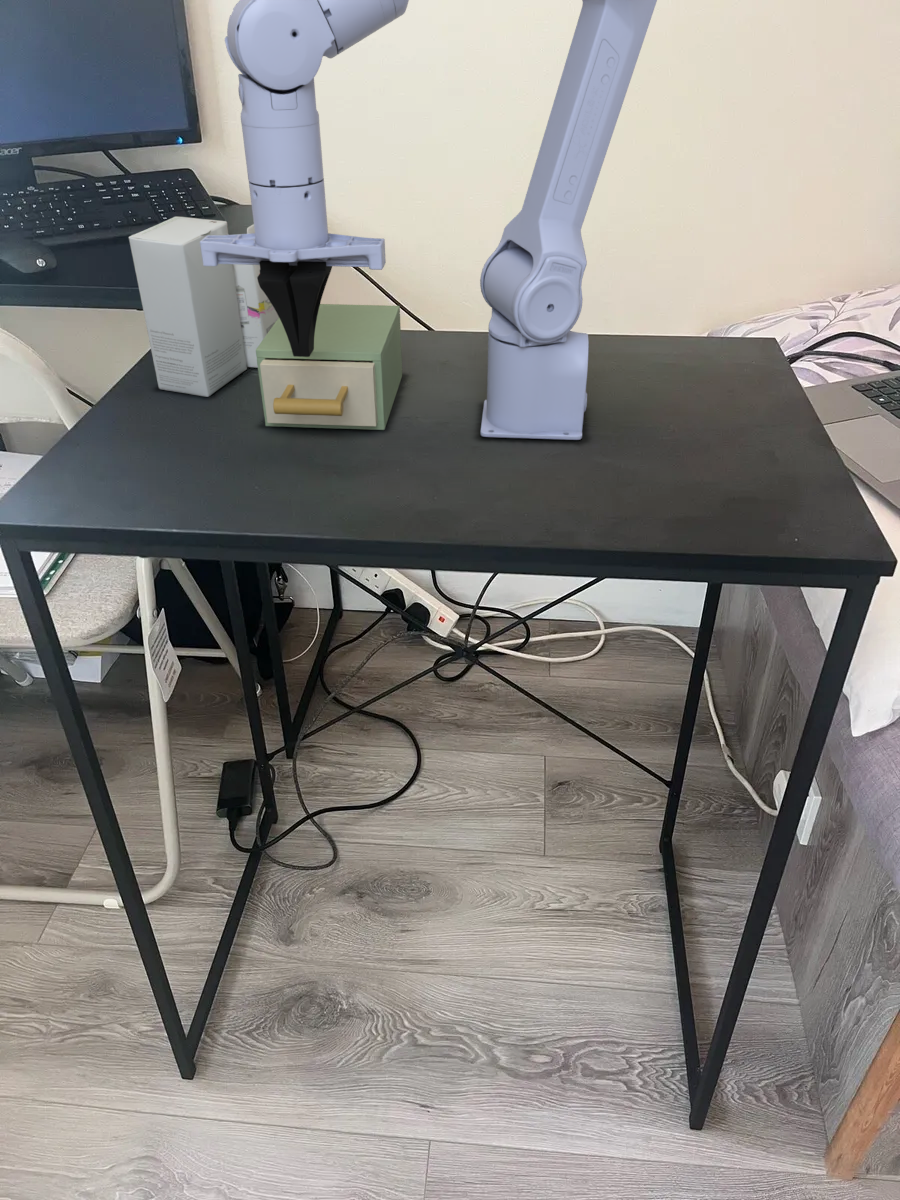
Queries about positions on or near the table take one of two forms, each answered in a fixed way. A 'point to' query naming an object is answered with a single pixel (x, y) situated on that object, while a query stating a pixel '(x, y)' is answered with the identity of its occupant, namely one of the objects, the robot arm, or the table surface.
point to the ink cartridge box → (252, 308)
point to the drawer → (319, 392)
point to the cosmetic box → (188, 307)
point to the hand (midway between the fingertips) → (303, 352)
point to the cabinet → (348, 349)
